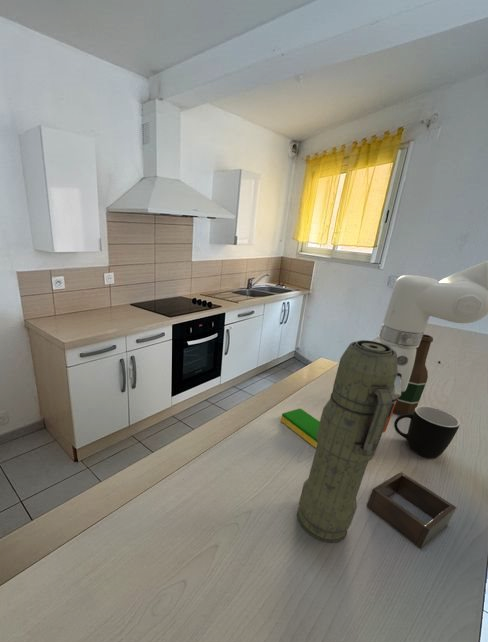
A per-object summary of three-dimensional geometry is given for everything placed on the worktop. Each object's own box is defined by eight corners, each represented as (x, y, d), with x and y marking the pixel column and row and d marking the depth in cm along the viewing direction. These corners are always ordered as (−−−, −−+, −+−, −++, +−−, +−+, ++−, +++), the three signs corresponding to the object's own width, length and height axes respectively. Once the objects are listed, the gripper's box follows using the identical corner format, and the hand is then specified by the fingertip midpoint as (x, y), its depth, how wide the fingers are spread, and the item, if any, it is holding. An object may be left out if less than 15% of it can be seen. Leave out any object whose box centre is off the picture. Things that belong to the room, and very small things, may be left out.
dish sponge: (319, 451, 78) (321, 443, 77) (279, 420, 89) (281, 413, 88) (339, 443, 81) (341, 436, 80) (298, 415, 92) (300, 407, 91)
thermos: (325, 493, 66) (372, 331, 52) (363, 547, 55) (434, 362, 42) (284, 497, 64) (322, 332, 51) (316, 554, 54) (374, 363, 40)
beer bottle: (390, 400, 103) (415, 329, 94) (417, 411, 98) (446, 337, 89) (380, 407, 99) (405, 334, 89) (408, 420, 93) (438, 342, 84)
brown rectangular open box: (447, 524, 60) (456, 507, 59) (420, 548, 56) (429, 530, 54) (394, 487, 68) (400, 471, 67) (366, 505, 63) (372, 488, 62)
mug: (442, 446, 82) (457, 413, 78) (446, 467, 75) (463, 431, 71) (388, 430, 88) (400, 398, 84) (388, 448, 81) (400, 414, 77)
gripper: (438, 353, 60) (407, 432, 67) (405, 326, 75) (382, 392, 82) (393, 347, 61) (367, 424, 68) (370, 321, 77) (351, 387, 84)
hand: (376, 406), depth 75 cm, fingers closed on cup, 6 cm apart
